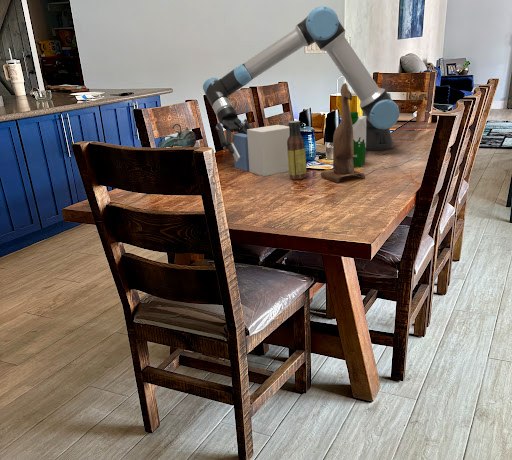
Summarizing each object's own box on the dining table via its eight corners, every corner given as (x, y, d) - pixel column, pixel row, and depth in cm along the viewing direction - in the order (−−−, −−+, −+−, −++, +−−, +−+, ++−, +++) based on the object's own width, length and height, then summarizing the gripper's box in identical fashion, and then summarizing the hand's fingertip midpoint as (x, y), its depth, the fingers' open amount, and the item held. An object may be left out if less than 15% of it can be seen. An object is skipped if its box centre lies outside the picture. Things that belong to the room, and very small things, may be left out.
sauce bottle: (308, 176, 182) (307, 119, 176) (304, 180, 177) (302, 122, 170) (290, 175, 185) (288, 120, 178) (286, 179, 179) (283, 122, 172)
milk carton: (339, 167, 193) (339, 113, 186) (345, 162, 200) (345, 110, 194) (362, 168, 189) (362, 113, 182) (367, 162, 197) (368, 110, 190)
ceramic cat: (191, 172, 199) (185, 120, 192) (203, 173, 195) (198, 121, 188) (153, 184, 184) (146, 128, 177) (166, 186, 180) (159, 129, 173)
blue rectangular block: (234, 167, 203) (232, 134, 198) (243, 165, 205) (241, 133, 200) (246, 171, 195) (244, 137, 191) (255, 169, 197) (253, 135, 193)
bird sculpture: (339, 185, 170) (341, 85, 158) (319, 177, 180) (320, 83, 168) (366, 180, 174) (370, 83, 163) (345, 172, 184) (348, 81, 173)
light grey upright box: (233, 166, 204) (230, 126, 198) (265, 160, 212) (263, 121, 206) (264, 176, 186) (261, 132, 180) (298, 168, 194) (297, 126, 188)
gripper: (245, 115, 212) (268, 158, 204) (198, 121, 201) (221, 167, 194) (251, 102, 206) (275, 146, 198) (203, 108, 195) (227, 155, 188)
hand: (248, 157), depth 196 cm, fingers open, 9 cm apart
